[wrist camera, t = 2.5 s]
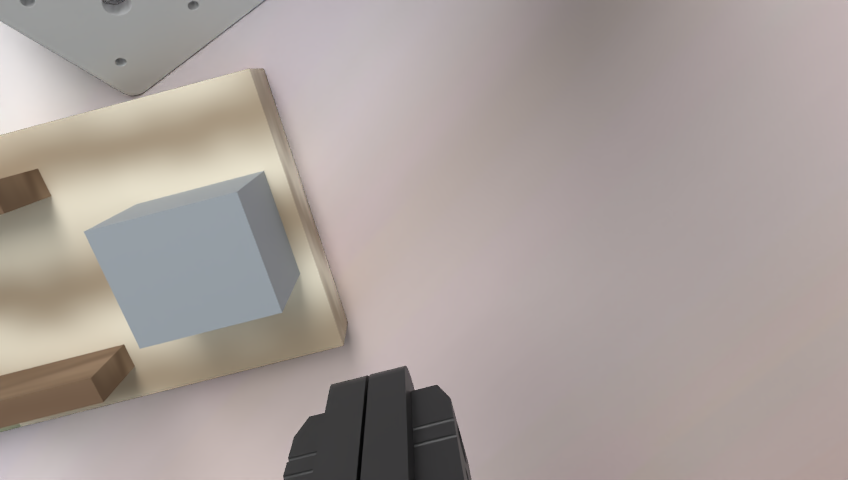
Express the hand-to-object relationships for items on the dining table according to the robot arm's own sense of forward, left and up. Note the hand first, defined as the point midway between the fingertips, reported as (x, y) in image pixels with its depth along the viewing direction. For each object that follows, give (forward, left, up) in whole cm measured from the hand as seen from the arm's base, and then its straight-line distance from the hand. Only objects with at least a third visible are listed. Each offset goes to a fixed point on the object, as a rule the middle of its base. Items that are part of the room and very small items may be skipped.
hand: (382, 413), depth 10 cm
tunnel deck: (0, -22, -22) cm, 31 cm away
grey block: (0, -9, -19) cm, 21 cm away
